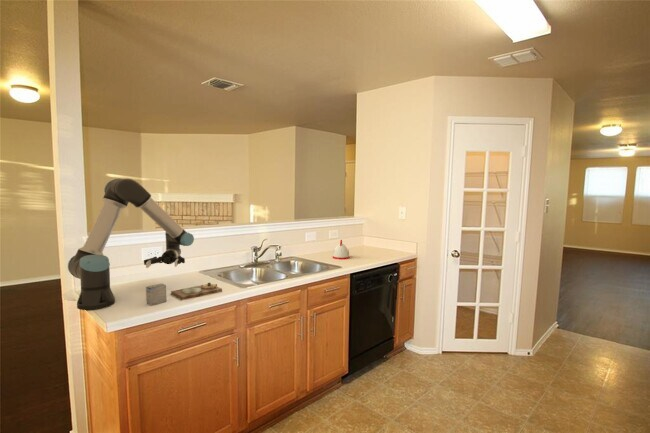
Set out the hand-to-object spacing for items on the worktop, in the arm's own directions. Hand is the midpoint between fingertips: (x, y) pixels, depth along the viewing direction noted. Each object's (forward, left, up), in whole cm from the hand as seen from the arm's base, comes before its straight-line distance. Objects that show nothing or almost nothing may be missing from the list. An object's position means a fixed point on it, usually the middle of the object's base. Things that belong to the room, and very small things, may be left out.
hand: (161, 264), depth 179 cm
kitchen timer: (+120, +84, -17) cm, 147 cm away
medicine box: (0, -10, -17) cm, 20 cm away
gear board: (+17, +4, -17) cm, 24 cm away
